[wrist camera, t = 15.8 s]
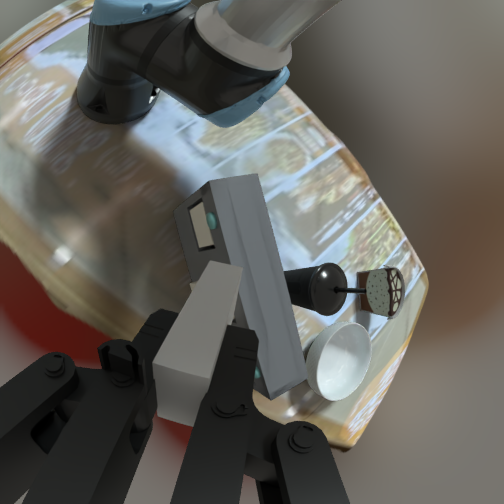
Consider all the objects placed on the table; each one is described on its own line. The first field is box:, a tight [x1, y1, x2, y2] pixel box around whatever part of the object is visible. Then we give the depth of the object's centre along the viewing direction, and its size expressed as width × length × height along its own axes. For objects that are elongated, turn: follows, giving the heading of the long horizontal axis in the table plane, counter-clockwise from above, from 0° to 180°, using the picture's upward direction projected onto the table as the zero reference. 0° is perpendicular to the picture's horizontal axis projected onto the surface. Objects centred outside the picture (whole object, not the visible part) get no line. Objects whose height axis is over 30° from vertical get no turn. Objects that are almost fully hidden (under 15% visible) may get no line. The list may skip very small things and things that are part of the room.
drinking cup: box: [283, 263, 367, 316], centre depth 41 cm, size 8×8×20 cm
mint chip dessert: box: [357, 265, 405, 320], centre depth 59 cm, size 12×6×10 cm, turn 9°
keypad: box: [173, 174, 308, 400], centre depth 37 cm, size 6×26×16 cm, turn 16°
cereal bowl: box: [306, 322, 372, 401], centre depth 52 cm, size 17×17×7 cm
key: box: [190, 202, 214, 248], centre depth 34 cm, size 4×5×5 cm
